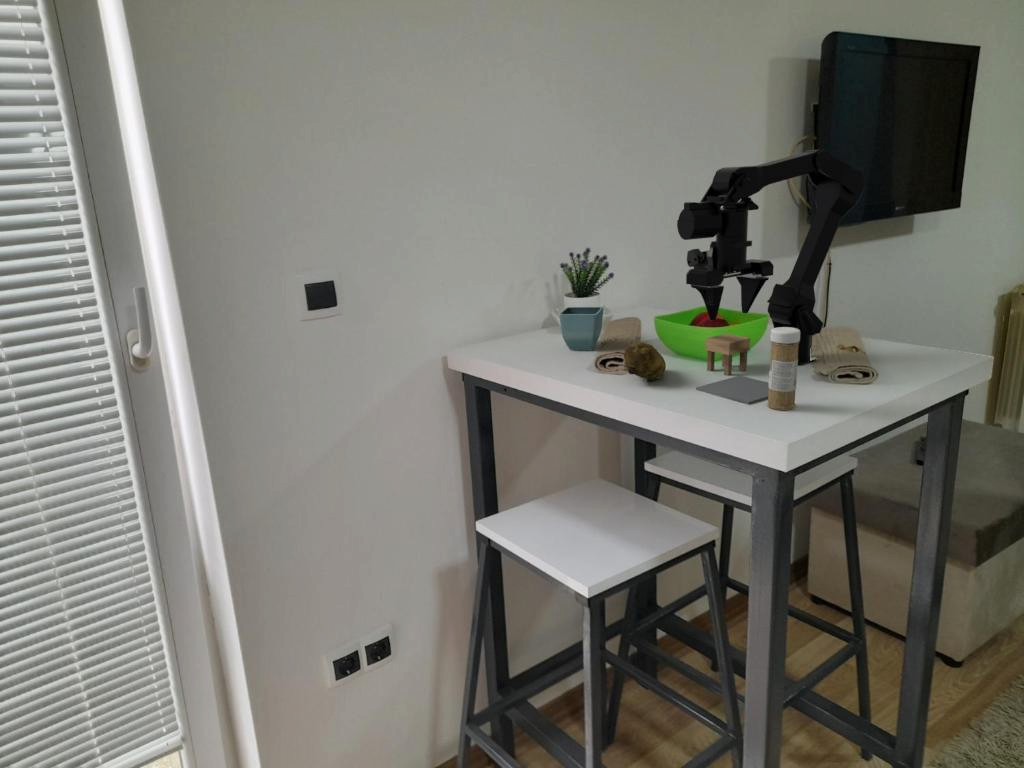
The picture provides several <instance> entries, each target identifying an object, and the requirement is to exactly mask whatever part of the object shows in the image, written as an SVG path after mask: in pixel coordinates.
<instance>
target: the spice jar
mask: <svg viewBox="0 0 1024 768" xmlns="http://www.w3.org/2000/svg"><path fill="white" fill-rule="evenodd" d="M769 338H770V347H771V348H770V361H769V362H770V363H769V372H768V383H769V395H768V399H767V403H766V405H767V407H768V408H769V409H772V410H778V411H790V410H793V409H795V408H796V390H797V383H798V381H797V379H798V367H799V365H798V344H799V341H800V330H799V329H796V328H791V327H778V328H774V327H773V328H772V329H771V330H770V337H769Z"/></svg>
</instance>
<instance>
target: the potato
mask: <svg viewBox="0 0 1024 768" xmlns="http://www.w3.org/2000/svg"><path fill="white" fill-rule="evenodd" d="M623 359H624V360H623V361H624V365H625V367H626V368H627V372H628V374H629V375H635V376H637V377H639V378H643V379H645V380H652V381H653V380H658V379H659V378H661V377H662V376H663V375H664V374H665V371H666V367H667V366H666V365H667V363H666V360H665V359H664V357H663V355H661V353H660V352H659V351H658V350H657V348H655V347H654V346H653V345H651V344H650V343H647V342H641V341H640V342H634V343H631V344H630V345H628V346H627V347H625V349H624V353H623Z"/></svg>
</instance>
